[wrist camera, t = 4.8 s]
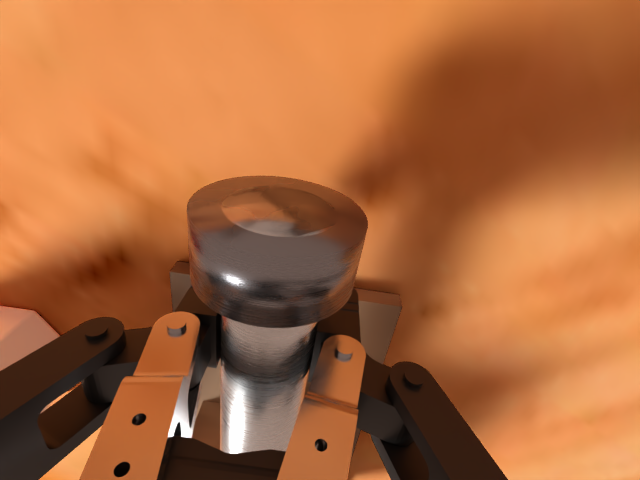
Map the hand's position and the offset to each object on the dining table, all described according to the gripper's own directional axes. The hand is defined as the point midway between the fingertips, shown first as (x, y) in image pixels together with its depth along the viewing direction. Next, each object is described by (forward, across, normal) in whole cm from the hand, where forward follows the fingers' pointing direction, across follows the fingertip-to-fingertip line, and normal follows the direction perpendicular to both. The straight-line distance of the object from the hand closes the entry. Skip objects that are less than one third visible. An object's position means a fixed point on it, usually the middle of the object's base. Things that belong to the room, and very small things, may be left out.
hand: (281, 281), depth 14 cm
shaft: (0, 0, +8) cm, 8 cm away
